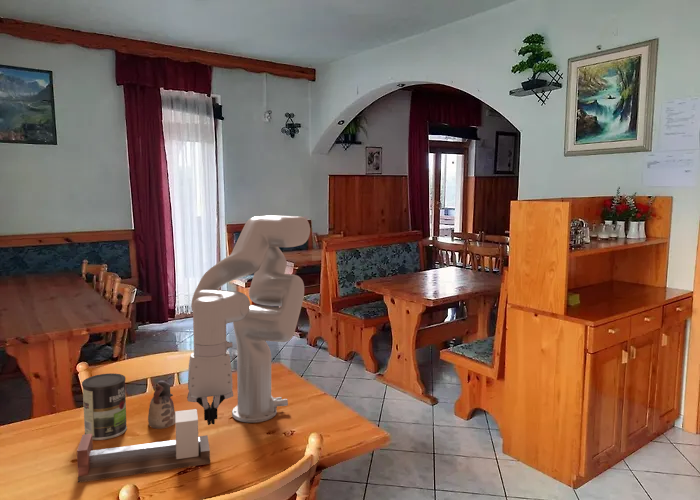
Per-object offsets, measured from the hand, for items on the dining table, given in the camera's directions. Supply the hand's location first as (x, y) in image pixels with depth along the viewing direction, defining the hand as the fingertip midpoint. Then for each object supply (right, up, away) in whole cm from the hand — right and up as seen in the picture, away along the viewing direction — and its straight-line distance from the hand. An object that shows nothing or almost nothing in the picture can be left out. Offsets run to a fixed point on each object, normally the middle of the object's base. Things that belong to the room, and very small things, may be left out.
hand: (210, 422), depth 128 cm
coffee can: (-31, -6, +12) cm, 34 cm away
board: (-14, -8, -3) cm, 17 cm away
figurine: (-18, -6, +17) cm, 26 cm away
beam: (-14, -7, -4) cm, 16 cm away
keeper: (-5, -7, -1) cm, 9 cm away
